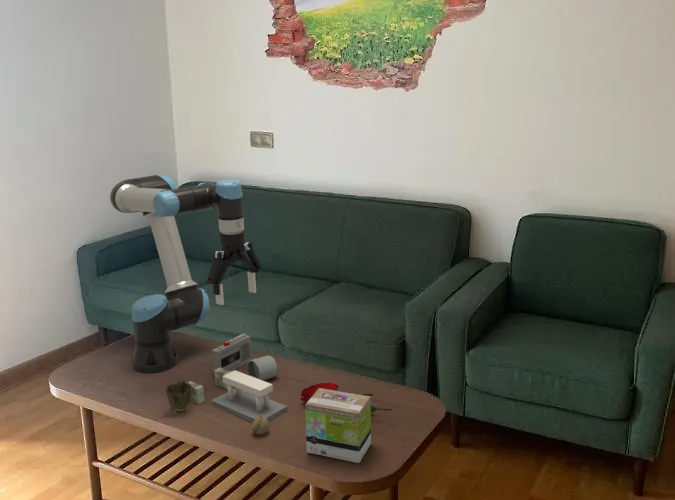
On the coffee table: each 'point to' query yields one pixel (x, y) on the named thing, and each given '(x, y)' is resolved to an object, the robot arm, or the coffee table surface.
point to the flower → (331, 386)
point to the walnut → (260, 425)
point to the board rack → (197, 389)
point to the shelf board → (248, 383)
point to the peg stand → (248, 404)
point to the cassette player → (232, 353)
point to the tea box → (338, 424)
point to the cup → (179, 396)
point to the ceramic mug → (262, 368)
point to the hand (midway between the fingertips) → (236, 298)
